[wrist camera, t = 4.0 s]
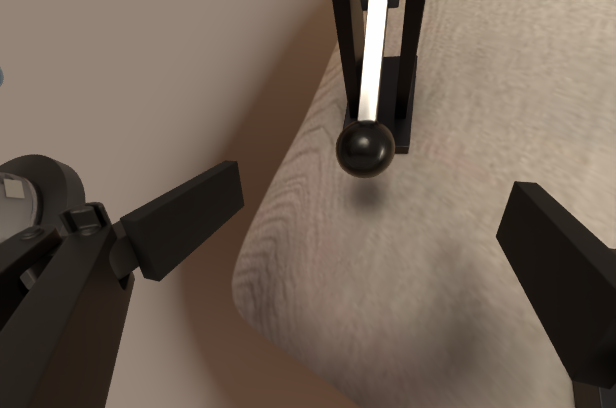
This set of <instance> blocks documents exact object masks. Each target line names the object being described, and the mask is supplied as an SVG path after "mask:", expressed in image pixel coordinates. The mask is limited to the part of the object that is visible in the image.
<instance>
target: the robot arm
mask: <svg viewBox="0 0 616 408" xmlns="http://www.w3.org/2000/svg"><path fill="white" fill-rule="evenodd" d="M2 83H3V73H2V70H1V68H0V86H1V85H2ZM243 206H244V200H243V194H242V188H241V182H240V176H239V170H238V163H237V161H224V162H222V163H220V164H218V165H216V166H214V167H213V168H211V169H209V170H207V171H205V172H204V173H202V174H200V175H198V176H196V177H194V178H193V179H191V180H189V181H187V182H185V183H183V184H182V185H180V186H178V187H176V188H174V189H172V190H171V191H169V192H167V193H165V194H163V195H161V196H160V197H158V198H156V199H154V200H152V201H151V202H149V203H147V204H145V205H143V206H141V207H140V208H138V209H136V210H134V211H132V212H130V213H129V214H127V215H125V216H123V217H121V218H120V221H118V222H116V223H115V224H113V225H112V224H111V221H110V219H109V217H108V214H107V212H106V210H105V207H104V205H103V204H102V203H100V202H91V203H84V204H80V205H76V206H73V207H70V208H68V209H66V210H64V211H62V212H61V213H60V214H58V215H59V217H60V219H61V221H62V223H63V225H64V227H65V229H66V231H67V232H68V234H69V235H66V236H61V235H60V233H59V232H58V230H57V228H56V226H55V225H52V224H45V225H40V224H41V220H42V216H43V196H42V192H41V190H40V188H39V186H38V185H37V184H36V183H35V182H34V181H32V180H30V179H27V178H24V177H21V176H18V175H13V174H9V173H2V172H0V408H105V404H106V400H107V396H108V392H109V387H110V383H111V379H112V375H113V370H114V366H115V362H116V357H117V353H118V349H119V345H120V340H121V336H122V332H123V328H124V323H125V319H126V315H127V311H128V306H129V302H130V297H131V294H132V289H133V285H134V281H135V278H134V274H133V272H132V271H133V270H135V269H136V268H137V267H140V269H141V272H142V274H143V276H144V278H146V279H151V280H155V281H161V280H162V279H163V278H164V277H165V276H166V275H167V274H168V273H169V272H170V271H172V270H173V269H174V268H175V267H176V266H177V265H178V264H180V263H181V262H182V261H183V260H184V259H185V258H186V257H187V256H188V255H190V254H191V253H192V252H193V251H194V250H195V249H196V248H197V247H198V246H200V245H201V244H202V243H203V242H204V241H205V240H206V239H207V238H209V237H210V236H211V235H212V234H213V233H214V232H215V231H216V230H217V229H219V228H220V227H221V226H222V225H223V224H224V223H225V222H226V221H228V220H229V219H230V218H231V217H232V216H233V215H234V214H235V213H237V211H239V210H240V209H241V208H242V207H243ZM496 238H497V240H498V242H499V244H500V246H501V248H502V250H503V251H504V253H505V255H506V257H507V259H508V261H509V263H510V265H511V267H512V269H513V270H514V272H515V274H516V276H517V278H518V280H519V282H520V284H521V286H522V287H523V289H524V291H525V293H526V295H527V297H528V299H529V301H530V303H531V304H532V306H533V308H534V310H535V312H536V314H537V316H538V318H539V320H540V322H541V323H542V325H543V327H544V329H545V331H546V333H547V335H548V337H549V339H550V340H551V342H552V344H553V346H554V348H555V350H556V352H557V354H558V356H559V357H560V359H561V361H562V363H563V365H564V367H565V369H566V371H567V373H568V375H569V376H570V378H571V380H572V381H576V382H580V383H584V384H588V385H593V386H597V387H601V388H605V389H609V390H610V389H611V388H612V387H613V386H614V385H615V383H616V249H610V248H608V247H607V246H606V245H605V244H604V243H603V242H601V241H600V240H599V239H598V238H597V237H596V236H595V235H594V234H593V233H592V232H590V231H589V230H588V229H587V228H586V227H585V226H584V225H583V224H582V223H580V222H579V221H578V220H577V219H576V218H575V217H574V216H573V215H572V214H571V213H569V212H568V211H567V210H566V209H565V208H564V207H563V206H562V205H561V204H559V203H558V202H557V201H556V200H555V199H554V198H553V197H552V196H551V195H549V194H548V193H547V192H546V191H545V190H544V189H543V188H542V187H541V186H540V185H538V184H537V183H531V182H517V181H515V182H514V185H513V188H512V190H511V193H510V196H509V199H508V202H507V205H506V208H505V211H504V214H503V217H502V220H501V223H500V226H499V229H498V231H497V234H496ZM25 271H27V272H28V274H29V275H30V277H31V278H32V280H33V281H34V285H33V286H32V287H31V289H30V290H29V289H27V288H26V286H25V285H24V283H23V282H22V280H21V279H20V276H21V275H22V274H23V273H24V272H25Z"/></svg>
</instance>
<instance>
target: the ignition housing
mask: <svg viewBox="0 0 616 408" xmlns="http://www.w3.org/2000/svg"><path fill="white" fill-rule="evenodd" d="M573 386H574V395H575V404H576V408H616V383H615V385H614V386H613V387H612V388H611V389H610V390H609V389H605V388H601V387H597V386H593V385H588V384H584V383H580V382H576V381H573Z"/></svg>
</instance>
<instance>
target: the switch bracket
mask: <svg viewBox="0 0 616 408" xmlns="http://www.w3.org/2000/svg"><path fill="white" fill-rule="evenodd" d="M332 2H333V9H334V15H335V22H336V29H337V35H338V42H339V48H340V55H341V62H342V68H343V75H344V81H345V88H346V95H347V101H348V103H347V109H346V115H345V120H344V126H343V129H344V128H345V127H346V126H348V125H349V124H351V123H352V122H354V121H357V119H358V108H359V97H360V86H361V75H362V64H363V52H364V22H363V11H362V8H361V2H360V0H332ZM424 5H425V0H406V3H405V13H404V24H403V34H402V44H401V54H400V56H394V57H383V66H382V76H381V86H380V96H379V106H378V116H377V121H379V122H380V123H382V124H384V125H385V126H386V127H387V128H388V129H389V130H390V132H391V134H392V136H393V138H394V142H395V153H405V154H407V153H408V150H409V144H410V133H411V122H412V111H413V100H414V89H415V78H416V67H417V55H416V54H417V48H418V42H419V36H420V30H421V24H422V18H423V11H424Z"/></svg>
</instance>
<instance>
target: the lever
mask: <svg viewBox="0 0 616 408" xmlns="http://www.w3.org/2000/svg"><path fill="white" fill-rule="evenodd" d="M360 2H361V8H362V11H367V19H366V30H365V41H364V52H363V64H362V75H361V86H360V97H359V108H358V119H357V121H354V122H352V123H351V124H349V125H348V126H346V127H345V128H344V129H343V131H342V132H341V133H340V135H339V137H338V139H337V143H336V157H337V160H338V163H339V164H340V166H341V167H342V169H343V170H344V171H346V172H347V173H348V174H350V175H352V176H354V177H358V178H371V177H374V176H377V175H379V174H380V173H382V172H383V171H384V170H385V169H387V167H388V166H389V165H390V163H391V162H392V159H393V157H394V153H395V142H394V138H393V136H392V134H391V132H390V130H389V129H388V128H387V127H386V126H385V125H384V124H382V123H380V122H379V121H377V116H378V106H379V96H380V86H381V76H382V66H383V56H384V46H385V36H386V26H387V16H388V8H397V7H398V6H399V0H360Z"/></svg>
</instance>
